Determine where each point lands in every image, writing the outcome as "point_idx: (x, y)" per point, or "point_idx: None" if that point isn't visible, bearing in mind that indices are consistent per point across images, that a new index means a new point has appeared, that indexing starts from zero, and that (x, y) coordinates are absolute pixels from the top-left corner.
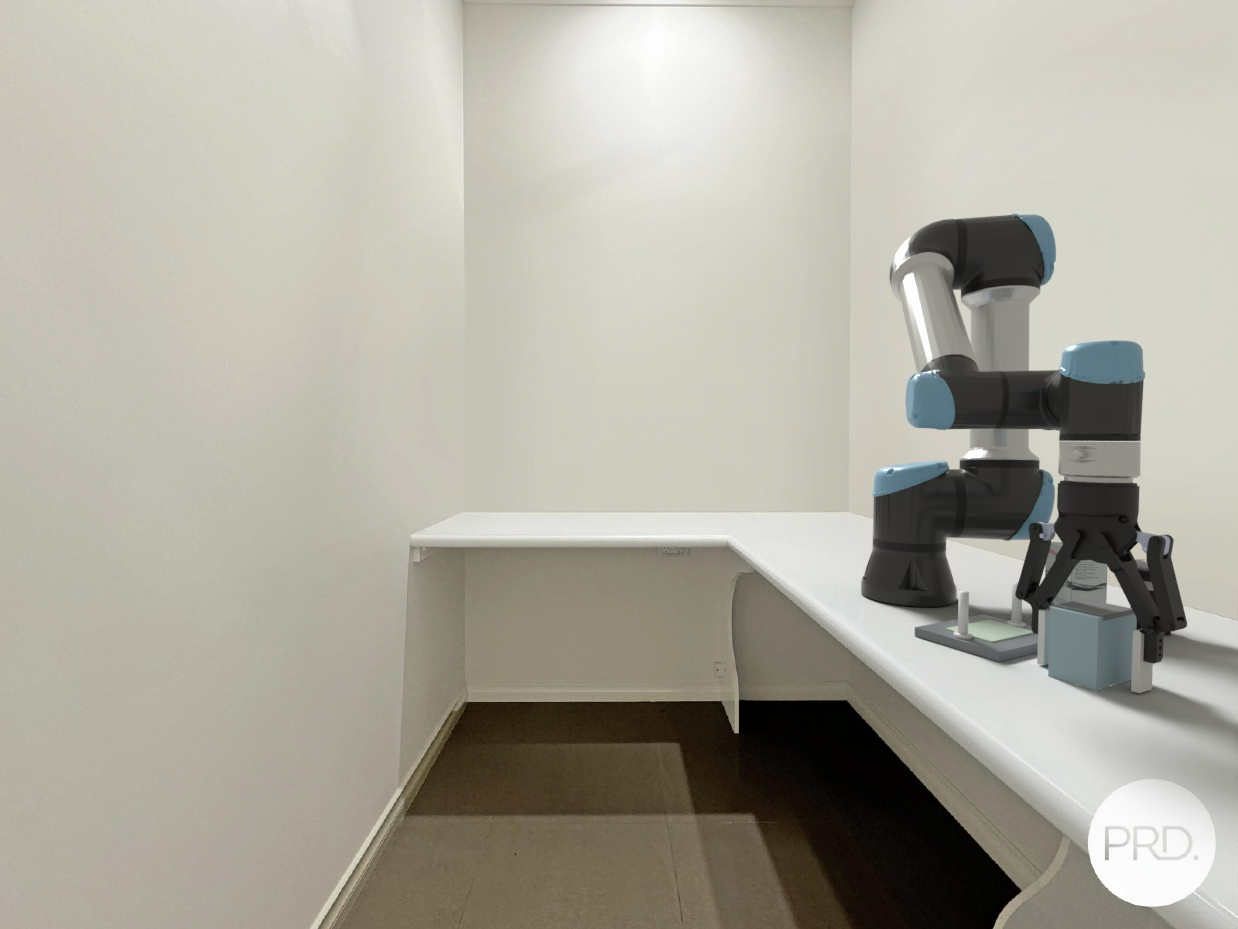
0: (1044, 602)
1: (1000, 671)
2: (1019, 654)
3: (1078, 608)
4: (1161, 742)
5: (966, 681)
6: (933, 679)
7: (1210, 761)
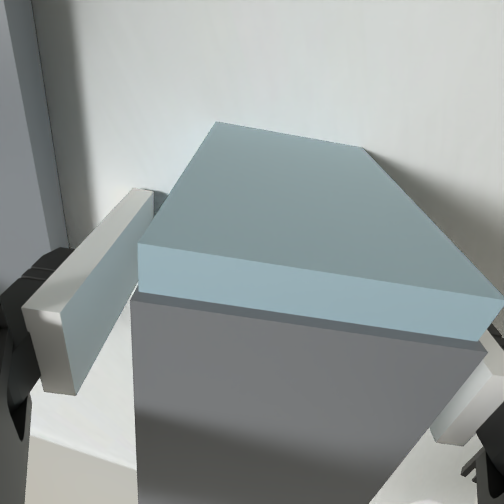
0: (12, 393)
1: (124, 344)
2: (59, 217)
3: (235, 502)
4: (422, 439)
5: (133, 419)
6: (101, 439)
7: (475, 450)
